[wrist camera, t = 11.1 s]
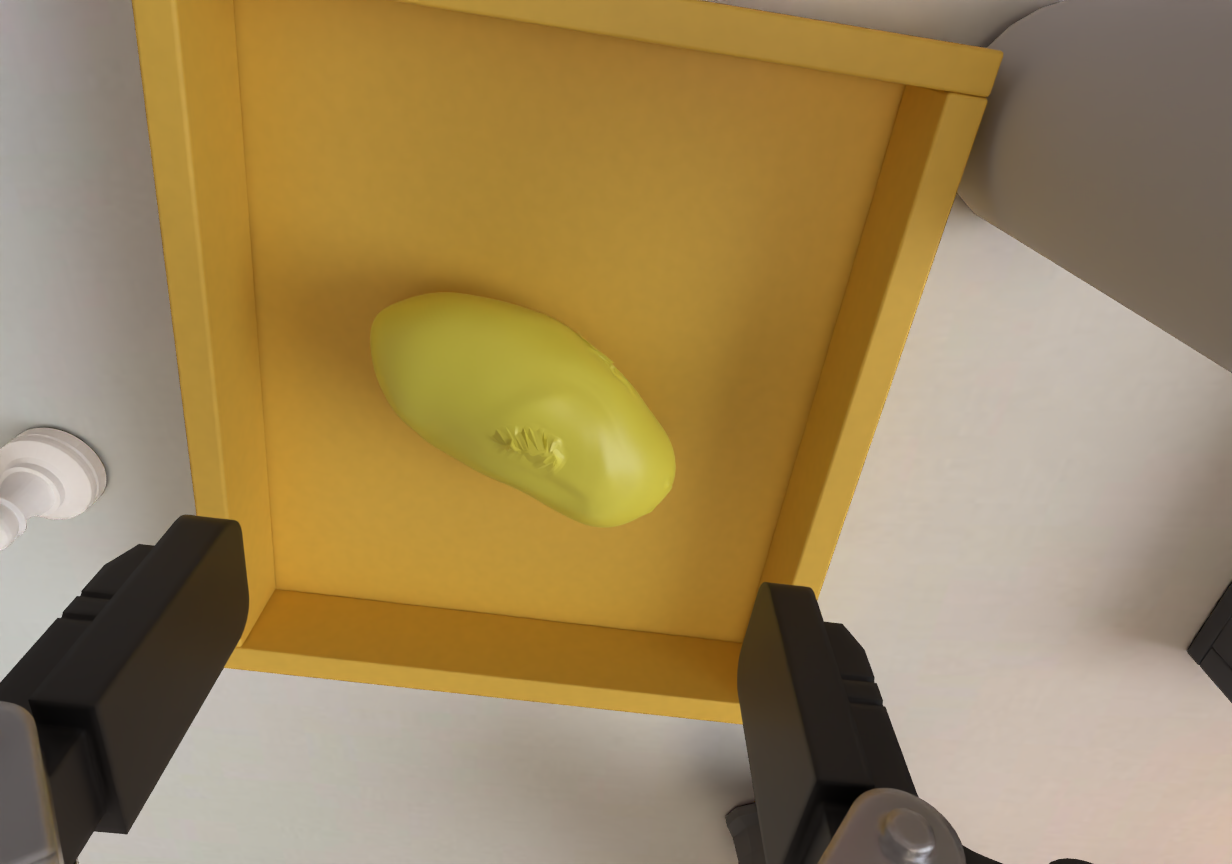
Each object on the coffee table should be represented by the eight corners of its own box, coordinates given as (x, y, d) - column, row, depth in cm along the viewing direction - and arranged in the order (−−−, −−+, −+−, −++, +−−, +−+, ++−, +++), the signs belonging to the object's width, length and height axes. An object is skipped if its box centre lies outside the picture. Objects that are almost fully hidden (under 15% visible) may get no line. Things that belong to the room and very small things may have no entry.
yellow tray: (202, -81, 16) (116, -98, 13) (945, 43, 17) (1006, 51, 14) (259, 593, 24) (213, 667, 22) (758, 650, 25) (774, 728, 23)
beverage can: (1019, -44, 16) (1739, -117, 6) (1208, 53, 17) (2135, 142, 7) (895, 180, 19) (1256, 423, 8) (1068, 257, 19) (1603, 568, 9)
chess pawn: (118, 506, 23) (41, 585, 20) (27, 502, 23) (-64, 580, 20) (95, 427, 22) (8, 498, 19) (0, 423, 22) (-103, 493, 19)
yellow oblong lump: (608, 512, 22) (605, 606, 19) (359, 340, 20) (304, 412, 16) (711, 409, 21) (729, 491, 17) (455, 208, 18) (417, 258, 15)
